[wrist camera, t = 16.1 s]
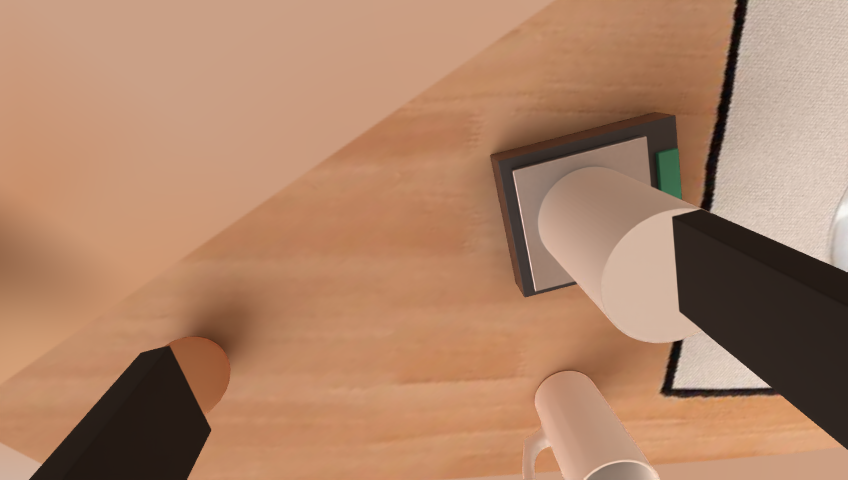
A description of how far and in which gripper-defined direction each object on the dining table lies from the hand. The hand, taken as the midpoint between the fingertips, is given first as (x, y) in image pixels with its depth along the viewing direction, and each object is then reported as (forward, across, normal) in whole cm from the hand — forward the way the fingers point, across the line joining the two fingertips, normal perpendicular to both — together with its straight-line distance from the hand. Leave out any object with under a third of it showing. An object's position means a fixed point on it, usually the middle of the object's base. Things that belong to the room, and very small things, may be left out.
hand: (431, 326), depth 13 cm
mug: (+29, +8, -28) cm, 41 cm away
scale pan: (+26, +13, -8) cm, 30 cm away
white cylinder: (+25, +13, -8) cm, 29 cm away
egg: (+29, -22, -13) cm, 39 cm away
